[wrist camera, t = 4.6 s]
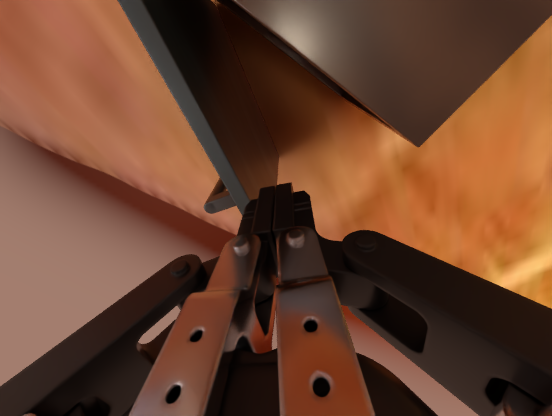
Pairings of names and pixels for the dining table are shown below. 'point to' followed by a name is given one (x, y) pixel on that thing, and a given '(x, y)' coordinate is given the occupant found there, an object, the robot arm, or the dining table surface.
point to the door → (209, 94)
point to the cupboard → (398, 50)
